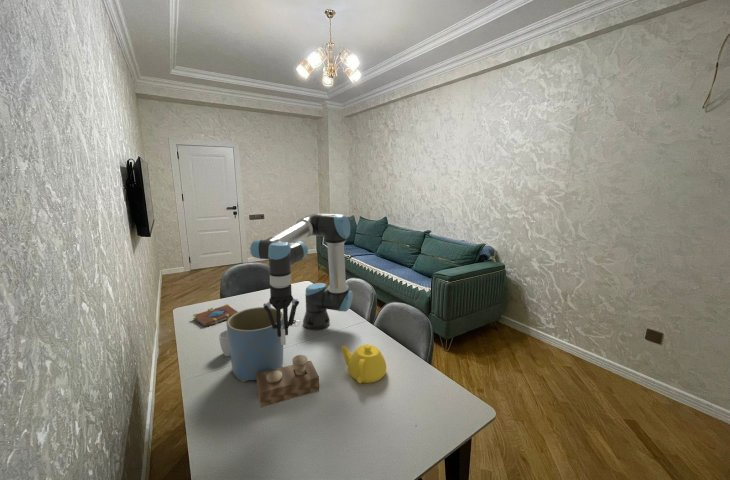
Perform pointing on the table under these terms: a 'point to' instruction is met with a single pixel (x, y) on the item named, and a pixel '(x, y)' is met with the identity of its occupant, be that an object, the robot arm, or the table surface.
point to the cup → (224, 343)
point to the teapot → (365, 363)
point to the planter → (254, 343)
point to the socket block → (287, 384)
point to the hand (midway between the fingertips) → (283, 343)
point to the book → (214, 315)
